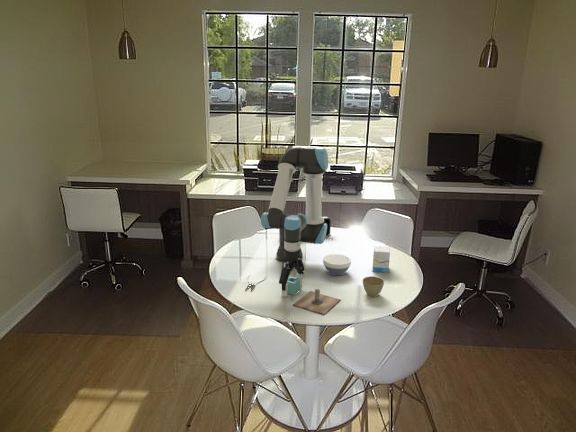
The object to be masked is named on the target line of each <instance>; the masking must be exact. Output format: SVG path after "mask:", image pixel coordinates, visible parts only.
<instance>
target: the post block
mask: <svg viewBox="0 0 576 432" xmlns="http://www.w3.org/2000/svg"><path fill="white" fill-rule="evenodd" d="M320 292H321V291H320V289H319V288H315V289H314V291H311V290H310V291H308V292H307V293H306V294H304V295H303V296H301V298H299V299H298V300H296V301H295V302H293V304H292V307H297V308H300V309H303V310H307V311H309V312H313V313H316V314H318V315H319V314H320V315H323V316H325V315H326V314H327V313H328V312H330V311H331V310H332V309H333V308H334V307H335V306H336V305H338V304H339V302H341V301H342V300H341V299H340V298H337V297H333V296H329V295H327V294H322V293H320Z"/></svg>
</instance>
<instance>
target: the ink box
mask: <svg viewBox="0 0 576 432" xmlns="http://www.w3.org/2000/svg"><path fill="white" fill-rule="evenodd" d="M390 250H391V248H390V247H389V246H388V247H387V246H380V245H379V246H376V245H375V246H374V247H373V255H372V256H373V259H372V272H374V273H375V272H376V273H389V271H390V269H389V268H390V256H391V251H390Z"/></svg>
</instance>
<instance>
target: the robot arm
mask: <svg viewBox="0 0 576 432" xmlns="http://www.w3.org/2000/svg"><path fill="white" fill-rule="evenodd" d="M328 168H329V155H328V151H327V149H326V148H325V147H322V146H308V145H307V146H305V145H295V146H291V148H289V149H287V150H286V151H285V152H284V153H283V154H282V156H281V157H280V158H279V161H278V164H277V169H278V173H277V176H276V180H275V184H274V187H273V191H272V193H271V194H272V195H271V198H270V202H269V206H268V210H267V211H266V212H263V213H262V214H261V217H260V224H261V227H263V228H266V229H270V230H271V229H274V230H275V229H276V230H278V231H279V234H278V236H279V237H278V238H279V240H278V241H279V242H278V243H279V245H278V247H277V251H276V256H275V257H276V259H277V260H278V261H279V262H282V264H281V271H280V275H279V280H278V284H280V285H281V296H282V297H285V298H288V284H287V281H288V278H289V277H290V275H291V272H292V271H293V270H294V269H295V271H296V272H297V273H295V274H296V275H295V278H299V279H301V285H300V288H302V284H303V283H302V282H303V281H302V280H303V279H302V278H303V277H302V275H304V273H305V265H304V263H303V258H304V254H303V251H302V248H301V245H302V244H301V243H305V244H314V245H316V244H317V245H322V244H323V243H324V242H325V239H326V232H327V224H326V223H324V219H323V218H322V217H323V216H322V196H323V195H322V193H323V191H322V190H323V185H322V184H323V183H322V182H323V175H324V174H325V173H326V170H328ZM297 169H302V174H304V175H305V214H303V213H296V214H285V213H284V212H285V207H286V202H287V198H288V195H289V192H290V186H291V183H292V178H293V175H294V173H296V171H297Z"/></svg>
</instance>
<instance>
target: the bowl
mask: <svg viewBox="0 0 576 432" xmlns="http://www.w3.org/2000/svg"><path fill="white" fill-rule="evenodd" d="M322 263H323V266H324V268H325V270H326V271H327V273H328V274H330V275H333V276H343V275H344V274H346V272H347V271H348V270H349V269H350V267H351V264H352V261H351V258H350V257H349V256H347V255H344V254H339V253H338V254H336V253H334V254H333V253H332V254H328V255H325V256H324V257H323V260H322Z"/></svg>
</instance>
